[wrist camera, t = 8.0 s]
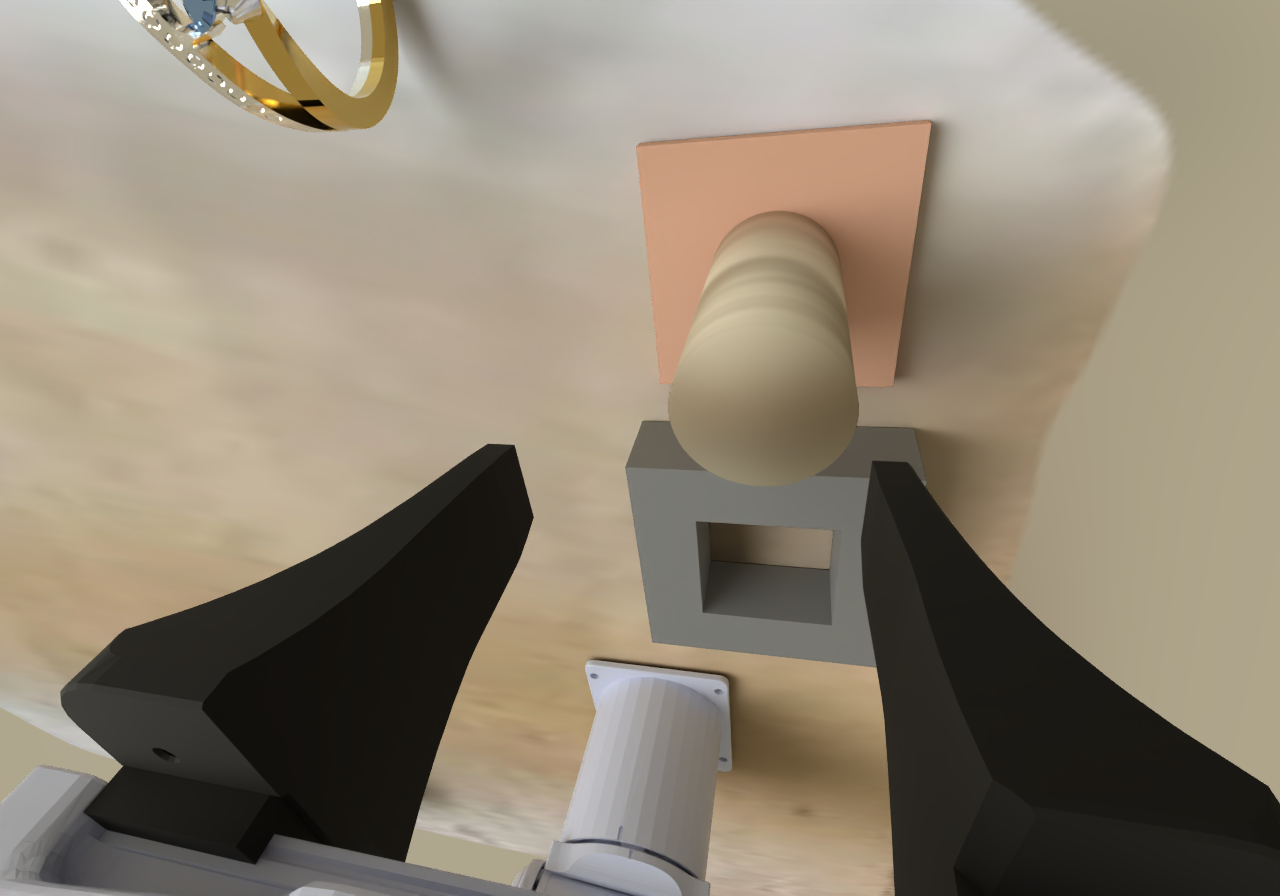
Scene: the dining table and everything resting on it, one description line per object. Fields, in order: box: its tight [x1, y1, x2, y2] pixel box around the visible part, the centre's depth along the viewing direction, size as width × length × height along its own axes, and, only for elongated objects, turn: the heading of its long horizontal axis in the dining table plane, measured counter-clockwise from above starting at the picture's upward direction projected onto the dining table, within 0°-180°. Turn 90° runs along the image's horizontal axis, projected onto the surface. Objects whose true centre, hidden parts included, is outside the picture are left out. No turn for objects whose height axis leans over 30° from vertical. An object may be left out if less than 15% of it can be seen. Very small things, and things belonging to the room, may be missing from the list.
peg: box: [668, 211, 859, 486], centre depth 16 cm, size 4×4×8 cm
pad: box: [636, 120, 931, 387], centre depth 20 cm, size 8×8×1 cm
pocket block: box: [625, 421, 927, 668], centre depth 25 cm, size 10×10×3 cm
